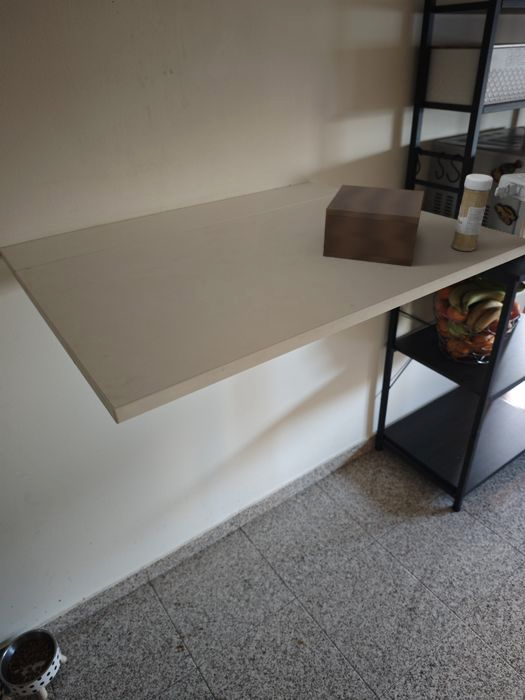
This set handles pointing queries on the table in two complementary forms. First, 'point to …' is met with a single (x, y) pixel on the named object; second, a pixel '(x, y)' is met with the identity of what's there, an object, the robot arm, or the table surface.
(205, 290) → the table surface
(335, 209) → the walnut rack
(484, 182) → the sprinkles bottle
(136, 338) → the table surface
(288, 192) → the table surface
